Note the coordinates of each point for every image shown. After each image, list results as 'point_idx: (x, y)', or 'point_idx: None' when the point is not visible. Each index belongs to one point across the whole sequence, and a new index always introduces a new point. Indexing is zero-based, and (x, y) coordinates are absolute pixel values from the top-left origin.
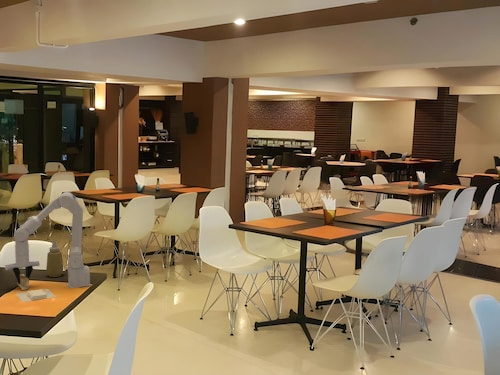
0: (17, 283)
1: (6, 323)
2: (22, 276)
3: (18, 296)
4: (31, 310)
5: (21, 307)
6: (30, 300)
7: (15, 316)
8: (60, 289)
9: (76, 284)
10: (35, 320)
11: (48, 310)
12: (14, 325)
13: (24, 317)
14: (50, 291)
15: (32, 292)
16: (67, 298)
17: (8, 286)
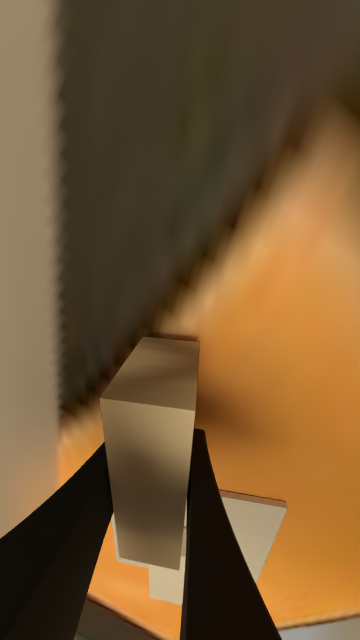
0: (139, 345)
1: None
2: (149, 483)
3: (113, 512)
4: (132, 601)
5: (109, 575)
6: (148, 565)
7: (85, 602)
8: (345, 531)
9: None
10: (126, 634)
11: (175, 623)
12: (79, 625)
13: (106, 615)
14: (273, 541)
15: (166, 570)
16: (283, 606)
17: (84, 293)
